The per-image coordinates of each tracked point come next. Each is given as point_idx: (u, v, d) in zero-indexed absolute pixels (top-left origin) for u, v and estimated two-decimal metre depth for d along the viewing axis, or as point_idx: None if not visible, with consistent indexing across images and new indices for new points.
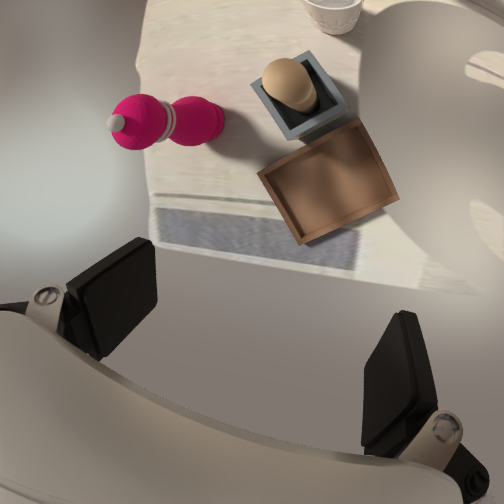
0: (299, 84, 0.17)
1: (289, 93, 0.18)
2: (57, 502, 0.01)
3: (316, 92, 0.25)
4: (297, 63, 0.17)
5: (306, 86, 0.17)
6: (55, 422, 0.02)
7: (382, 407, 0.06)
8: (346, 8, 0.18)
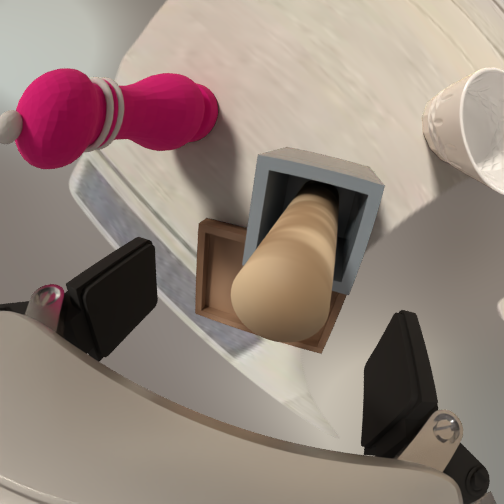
0: (289, 331, 0.10)
1: (262, 325, 0.10)
2: (57, 502, 0.01)
3: None
4: (324, 303, 0.09)
5: (297, 339, 0.10)
6: (55, 422, 0.02)
7: (381, 407, 0.06)
8: (490, 187, 0.11)
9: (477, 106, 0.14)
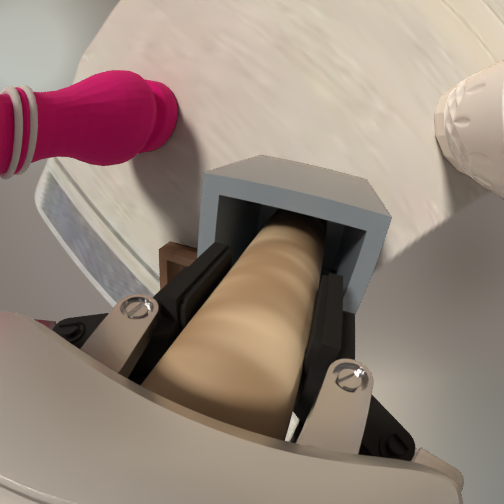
0: None
1: None
2: (57, 502, 0.01)
3: None
4: None
5: None
6: (55, 422, 0.02)
7: None
8: None
9: None
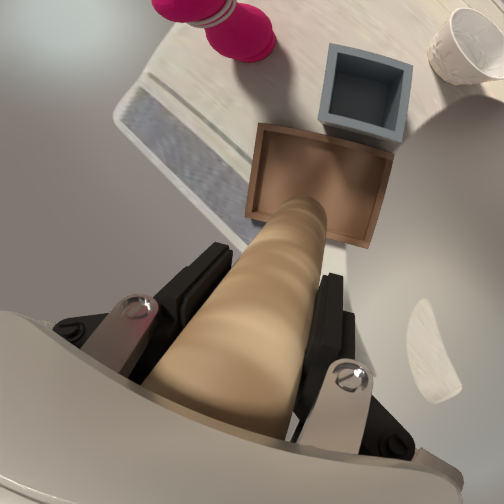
0: None
1: None
2: (57, 502, 0.01)
3: None
4: None
5: None
6: (55, 422, 0.02)
7: None
8: (479, 71, 0.13)
9: (464, 44, 0.16)
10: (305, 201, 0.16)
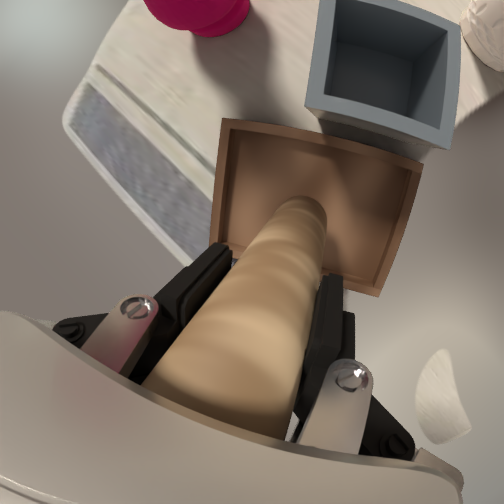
0: None
1: None
2: (57, 502, 0.01)
3: None
4: None
5: None
6: (55, 422, 0.02)
7: None
8: None
9: None
10: (305, 201, 0.16)
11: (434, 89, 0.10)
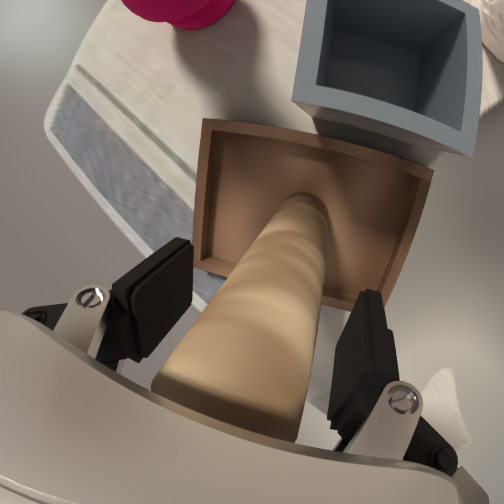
0: None
1: None
2: (57, 502, 0.01)
3: None
4: (290, 429, 0.05)
5: None
6: (55, 422, 0.02)
7: (344, 379, 0.07)
8: None
9: None
10: (308, 197, 0.17)
11: (451, 82, 0.08)
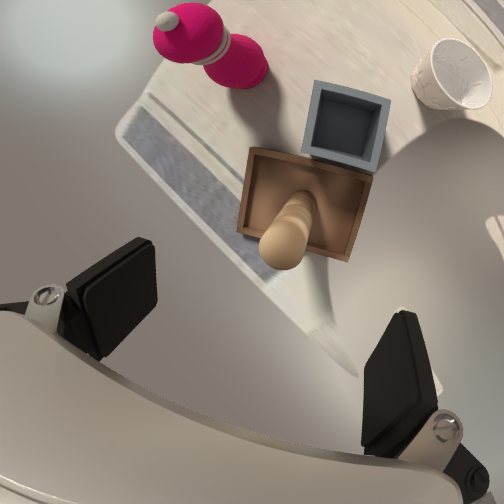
0: (286, 263, 0.22)
1: (273, 261, 0.22)
2: (57, 502, 0.01)
3: None
4: (302, 247, 0.21)
5: (290, 268, 0.22)
6: (55, 422, 0.02)
7: (382, 407, 0.06)
8: (455, 102, 0.17)
9: (447, 69, 0.20)
10: (305, 192, 0.33)
11: (372, 138, 0.24)
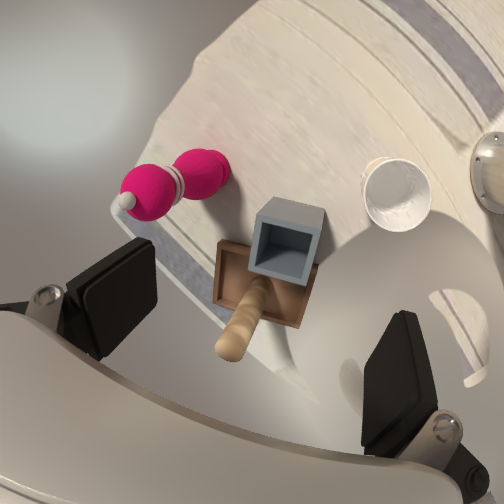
0: (232, 359, 0.31)
1: (224, 357, 0.32)
2: (57, 502, 0.01)
3: None
4: (241, 352, 0.31)
5: (235, 361, 0.32)
6: (55, 422, 0.02)
7: (382, 407, 0.06)
8: (383, 228, 0.27)
9: (399, 167, 0.30)
10: (262, 280, 0.43)
11: None
